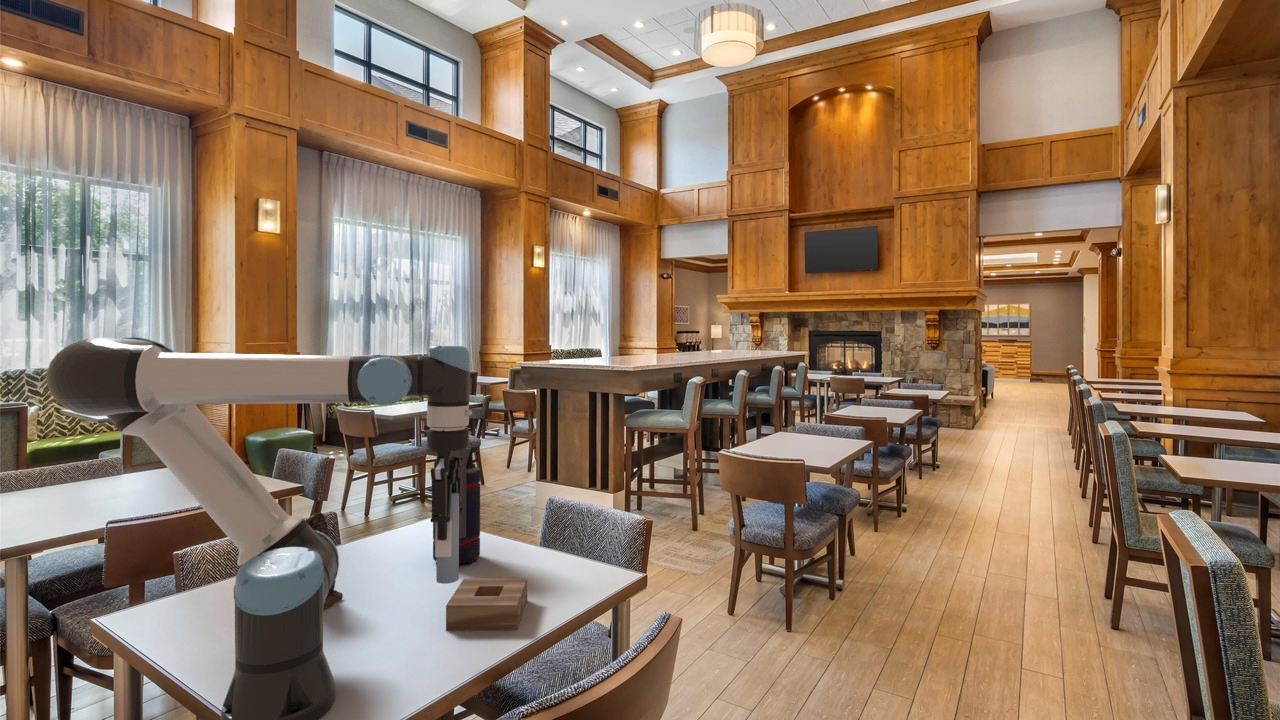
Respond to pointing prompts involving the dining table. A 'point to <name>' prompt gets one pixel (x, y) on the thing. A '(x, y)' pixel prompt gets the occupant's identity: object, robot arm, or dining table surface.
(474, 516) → the grenade
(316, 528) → the statue
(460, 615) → the socket block
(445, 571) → the pin
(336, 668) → the dining table surface
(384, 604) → the dining table surface
